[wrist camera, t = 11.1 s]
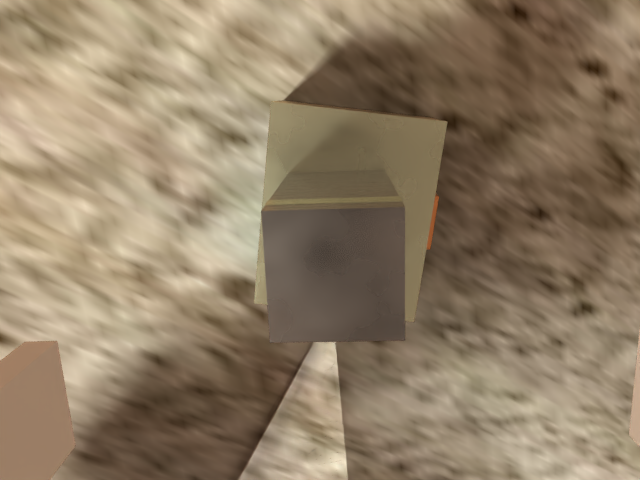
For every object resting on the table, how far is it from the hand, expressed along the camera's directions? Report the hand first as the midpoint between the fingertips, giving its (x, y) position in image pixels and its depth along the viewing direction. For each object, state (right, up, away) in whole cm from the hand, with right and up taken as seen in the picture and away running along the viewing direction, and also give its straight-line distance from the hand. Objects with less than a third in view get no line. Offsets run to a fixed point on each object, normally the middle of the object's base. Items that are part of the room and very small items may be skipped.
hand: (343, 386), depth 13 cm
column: (0, +4, +17) cm, 18 cm away
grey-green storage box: (+1, +6, +23) cm, 24 cm away
